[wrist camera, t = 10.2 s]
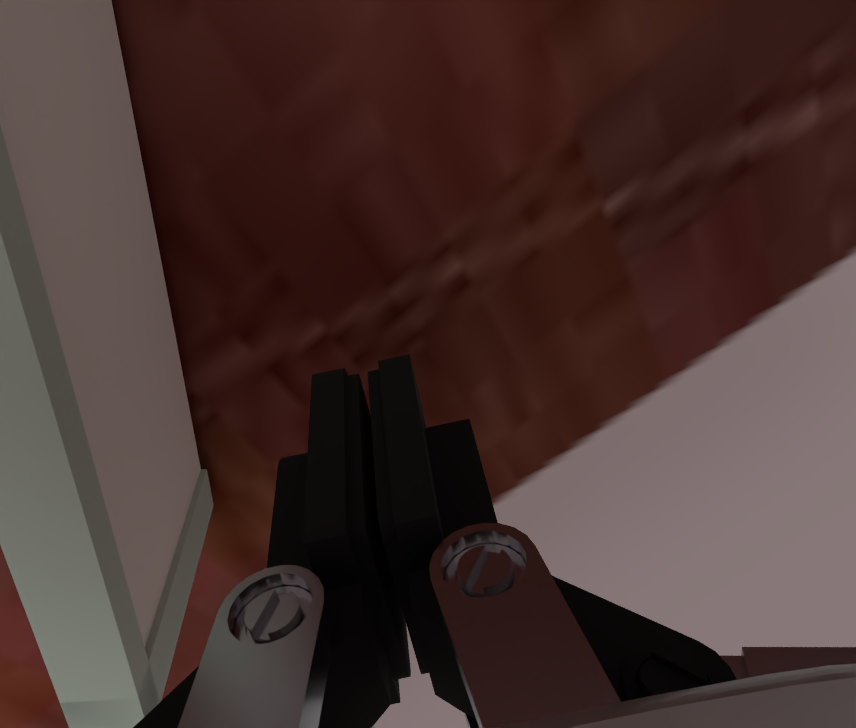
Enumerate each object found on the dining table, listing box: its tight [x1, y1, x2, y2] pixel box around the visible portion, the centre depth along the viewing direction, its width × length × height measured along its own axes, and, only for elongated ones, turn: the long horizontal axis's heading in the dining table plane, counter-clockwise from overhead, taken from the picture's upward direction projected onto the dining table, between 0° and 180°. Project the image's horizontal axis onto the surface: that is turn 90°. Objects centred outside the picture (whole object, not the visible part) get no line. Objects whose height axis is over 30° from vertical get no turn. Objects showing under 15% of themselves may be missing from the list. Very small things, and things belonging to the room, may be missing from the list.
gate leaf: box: [0, 0, 213, 728], centre depth 17 cm, size 20×2×9 cm, turn 0°
